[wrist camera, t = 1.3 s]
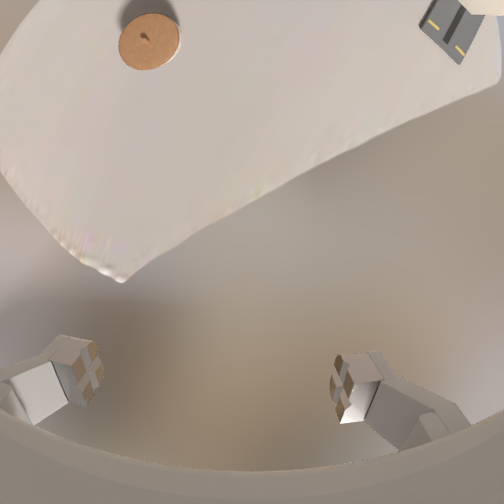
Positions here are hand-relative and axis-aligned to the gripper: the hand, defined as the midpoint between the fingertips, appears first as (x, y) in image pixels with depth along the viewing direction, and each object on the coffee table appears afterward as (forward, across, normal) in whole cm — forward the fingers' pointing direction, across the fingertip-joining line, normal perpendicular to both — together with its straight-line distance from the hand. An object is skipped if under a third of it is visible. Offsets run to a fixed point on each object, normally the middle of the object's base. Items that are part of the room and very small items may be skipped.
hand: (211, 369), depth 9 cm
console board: (+35, -43, -47) cm, 73 cm away
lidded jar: (+43, +16, -32) cm, 55 cm away
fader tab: (+32, -46, -51) cm, 76 cm away
